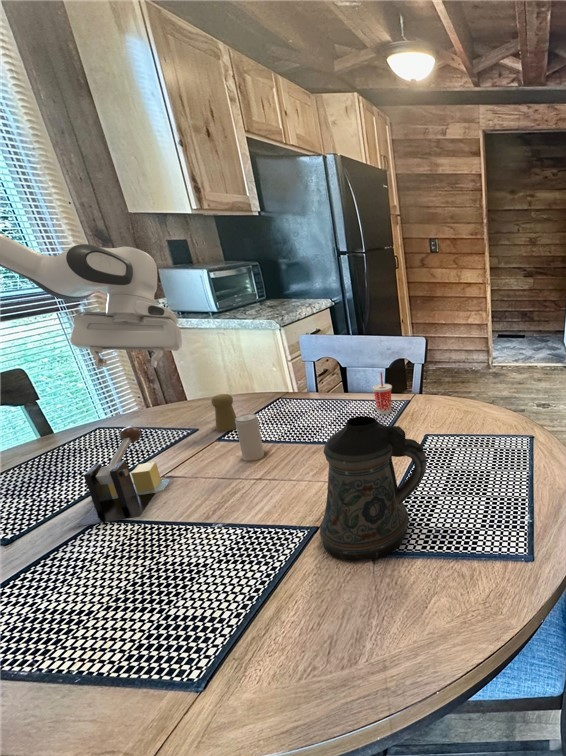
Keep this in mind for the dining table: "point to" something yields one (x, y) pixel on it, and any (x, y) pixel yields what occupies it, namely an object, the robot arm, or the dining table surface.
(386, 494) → the beer stein
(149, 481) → the butter right
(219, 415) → the cork
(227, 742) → the dining table surface
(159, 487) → the butter dish
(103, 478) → the lever
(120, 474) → the cutter
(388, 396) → the beverage cup
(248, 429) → the beverage can
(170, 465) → the dining table surface
